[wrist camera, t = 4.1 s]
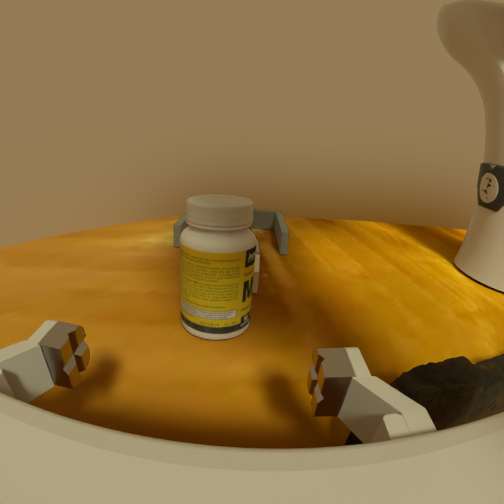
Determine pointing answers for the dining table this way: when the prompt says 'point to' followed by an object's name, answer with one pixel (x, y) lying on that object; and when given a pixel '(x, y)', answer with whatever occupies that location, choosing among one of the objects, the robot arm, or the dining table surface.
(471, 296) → the dining table surface
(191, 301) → the supplement bottle
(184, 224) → the grey u-shaped frame
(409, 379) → the hand tool
